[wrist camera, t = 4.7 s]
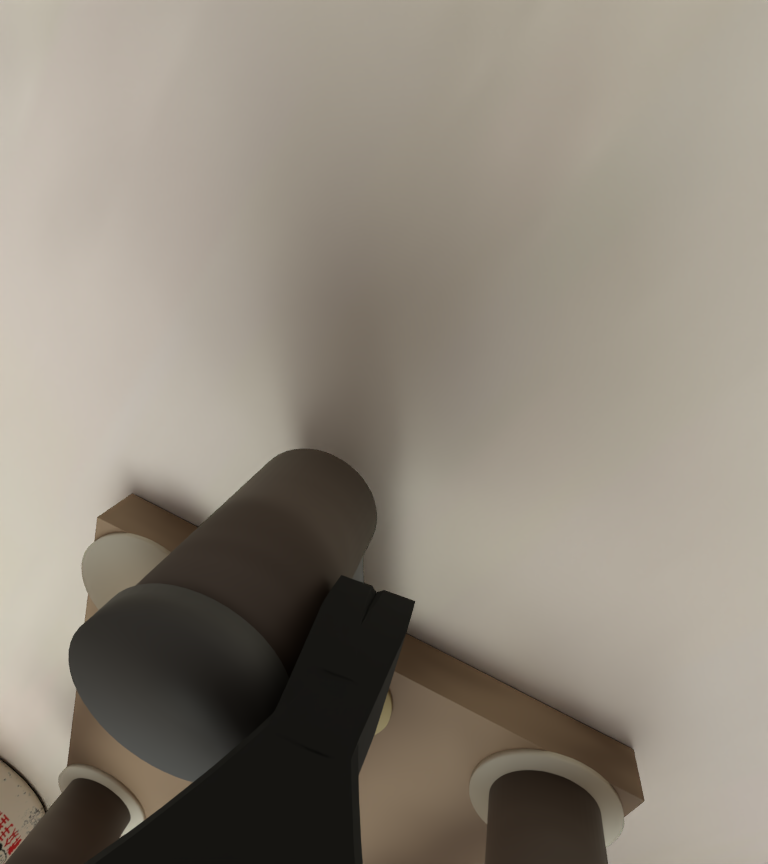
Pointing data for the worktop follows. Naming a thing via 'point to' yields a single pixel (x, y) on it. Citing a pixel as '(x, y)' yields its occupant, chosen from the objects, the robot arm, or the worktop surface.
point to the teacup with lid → (16, 811)
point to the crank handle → (224, 615)
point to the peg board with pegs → (371, 753)
